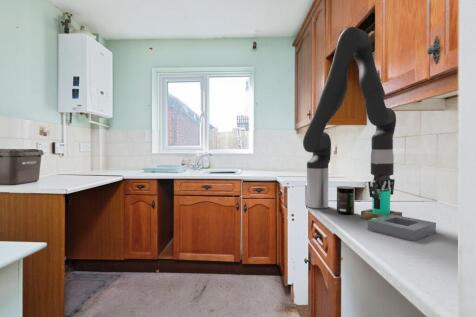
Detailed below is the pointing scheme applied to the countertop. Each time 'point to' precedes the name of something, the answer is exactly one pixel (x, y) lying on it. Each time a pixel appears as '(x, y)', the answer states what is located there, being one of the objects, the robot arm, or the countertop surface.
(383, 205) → the candle
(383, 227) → the frame
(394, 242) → the countertop surface
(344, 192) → the supplement container
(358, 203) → the countertop surface
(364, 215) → the holder ring
